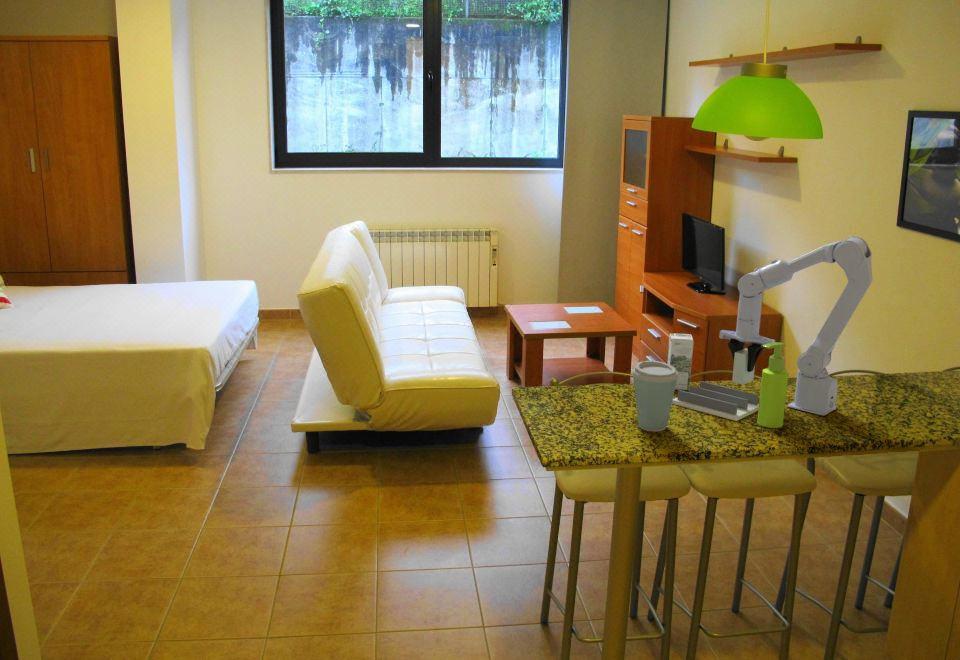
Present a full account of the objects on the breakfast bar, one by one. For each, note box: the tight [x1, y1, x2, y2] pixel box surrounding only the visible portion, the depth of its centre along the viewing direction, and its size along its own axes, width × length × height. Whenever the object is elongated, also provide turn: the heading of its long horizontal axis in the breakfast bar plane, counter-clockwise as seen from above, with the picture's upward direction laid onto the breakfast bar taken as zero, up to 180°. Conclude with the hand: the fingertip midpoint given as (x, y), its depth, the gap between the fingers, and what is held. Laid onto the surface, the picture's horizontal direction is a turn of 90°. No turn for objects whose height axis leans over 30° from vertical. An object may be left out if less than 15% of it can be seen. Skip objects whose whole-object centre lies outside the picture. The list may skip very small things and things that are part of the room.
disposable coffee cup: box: [631, 359, 678, 433], centre depth 209 cm, size 11×11×15 cm
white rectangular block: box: [732, 347, 756, 385], centre depth 234 cm, size 6×3×8 cm, turn 137°
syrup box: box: [666, 333, 694, 392], centre depth 239 cm, size 6×6×14 cm
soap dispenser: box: [756, 341, 790, 429], centre depth 212 cm, size 6×7×20 cm
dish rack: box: [672, 380, 760, 422], centre depth 227 cm, size 18×14×4 cm
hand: (743, 369), depth 235 cm, fingers closed on white rectangular block, 3 cm apart
